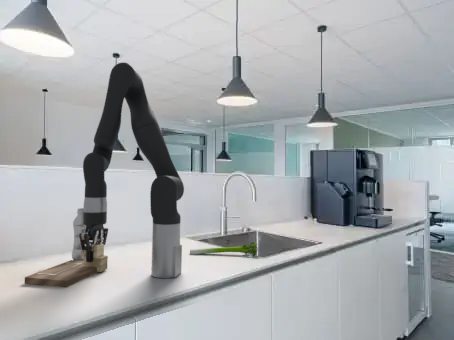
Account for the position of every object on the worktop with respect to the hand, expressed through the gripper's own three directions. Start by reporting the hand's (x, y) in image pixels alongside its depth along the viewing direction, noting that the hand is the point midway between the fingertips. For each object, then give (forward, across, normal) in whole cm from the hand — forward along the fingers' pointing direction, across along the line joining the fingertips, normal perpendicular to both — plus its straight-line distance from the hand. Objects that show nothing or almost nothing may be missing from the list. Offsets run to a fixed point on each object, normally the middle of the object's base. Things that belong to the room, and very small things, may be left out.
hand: (93, 260), depth 109 cm
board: (+4, -6, +5) cm, 9 cm away
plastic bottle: (+4, +11, +13) cm, 17 cm away
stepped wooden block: (+3, 0, 0) cm, 3 cm away
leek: (+4, +35, -40) cm, 53 cm away
